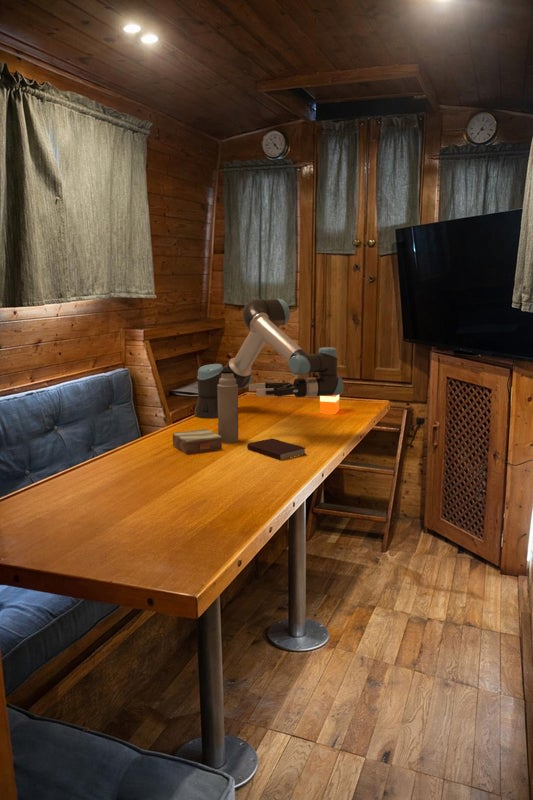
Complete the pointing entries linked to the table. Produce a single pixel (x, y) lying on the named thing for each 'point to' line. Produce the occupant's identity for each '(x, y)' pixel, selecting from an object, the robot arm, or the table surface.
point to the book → (276, 448)
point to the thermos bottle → (228, 407)
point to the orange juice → (329, 404)
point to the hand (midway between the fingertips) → (252, 390)
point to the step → (197, 441)
